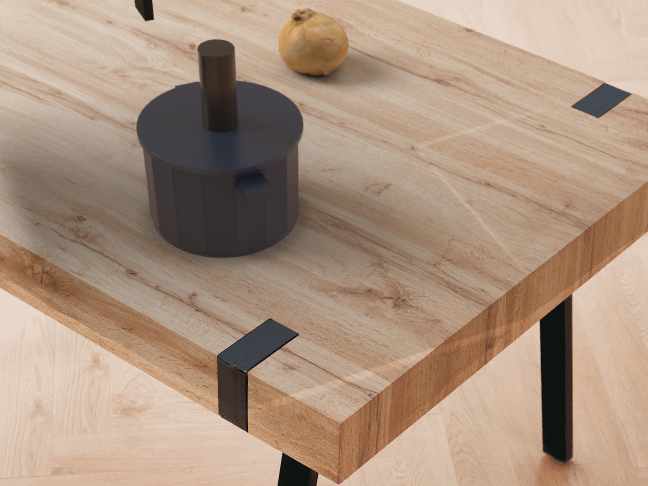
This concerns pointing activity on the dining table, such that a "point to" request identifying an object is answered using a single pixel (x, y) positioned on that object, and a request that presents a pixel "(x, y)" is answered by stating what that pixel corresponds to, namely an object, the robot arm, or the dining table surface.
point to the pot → (223, 207)
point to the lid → (219, 120)
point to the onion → (312, 42)
